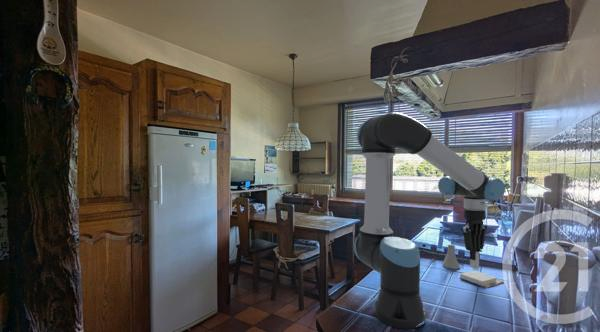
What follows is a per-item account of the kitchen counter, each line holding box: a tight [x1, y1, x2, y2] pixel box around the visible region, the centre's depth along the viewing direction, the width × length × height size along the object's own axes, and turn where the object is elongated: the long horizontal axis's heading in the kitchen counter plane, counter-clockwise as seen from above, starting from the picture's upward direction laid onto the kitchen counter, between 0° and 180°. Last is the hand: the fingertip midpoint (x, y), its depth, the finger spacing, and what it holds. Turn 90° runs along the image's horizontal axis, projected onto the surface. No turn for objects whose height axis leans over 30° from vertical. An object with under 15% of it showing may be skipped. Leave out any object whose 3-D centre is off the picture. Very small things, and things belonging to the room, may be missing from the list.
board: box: [459, 275, 504, 289], centre depth 118 cm, size 11×11×1 cm
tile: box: [460, 270, 497, 287], centre depth 118 cm, size 2×9×9 cm
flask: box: [442, 244, 461, 270], centre depth 134 cm, size 7×7×10 cm
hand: (474, 267), depth 116 cm, fingers closed
